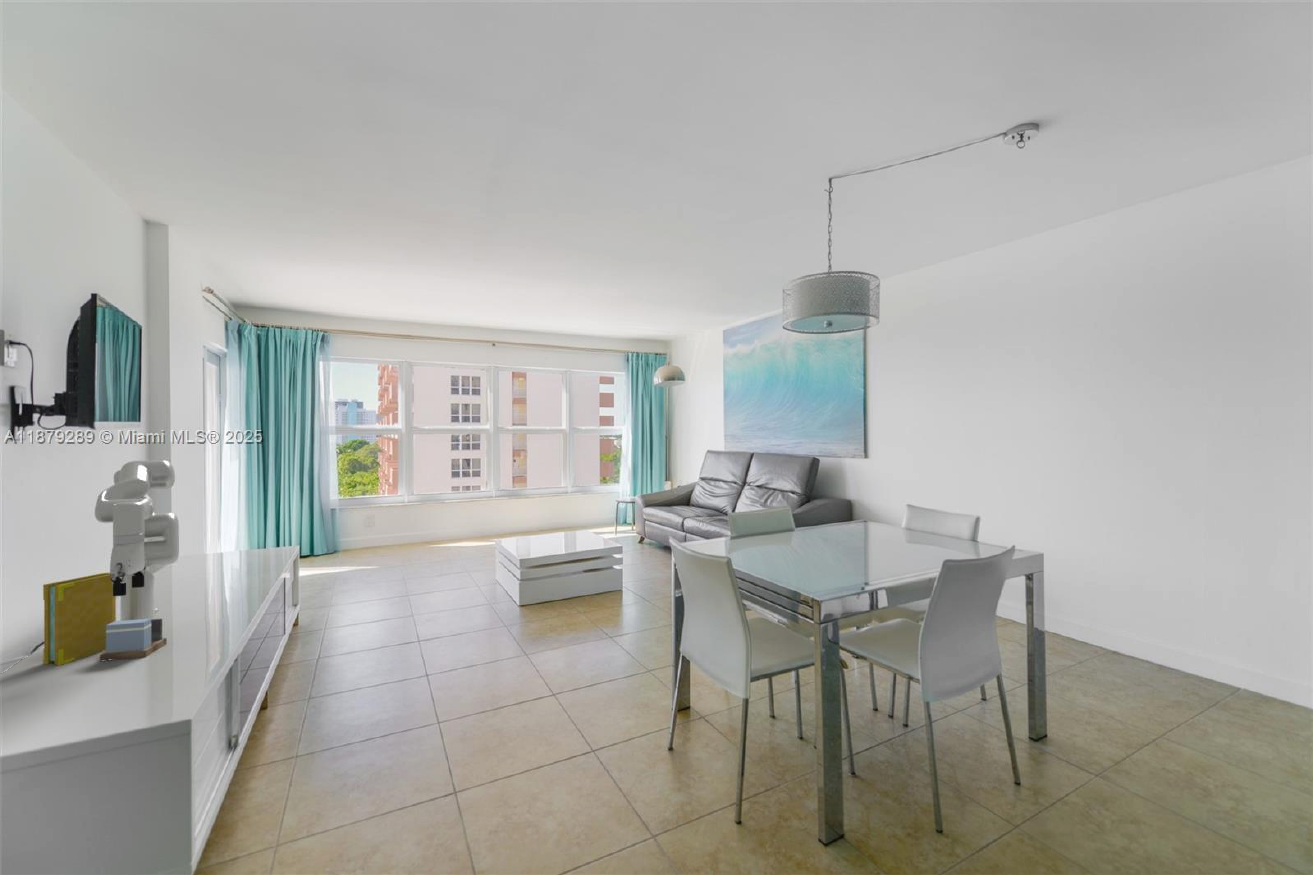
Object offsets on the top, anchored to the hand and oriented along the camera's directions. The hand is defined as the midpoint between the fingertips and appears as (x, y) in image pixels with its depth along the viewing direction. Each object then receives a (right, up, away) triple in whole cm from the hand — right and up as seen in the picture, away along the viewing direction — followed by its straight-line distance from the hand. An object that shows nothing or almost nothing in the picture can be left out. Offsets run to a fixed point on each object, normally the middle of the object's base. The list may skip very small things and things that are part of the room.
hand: (129, 591), depth 182 cm
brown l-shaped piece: (0, -21, +2) cm, 21 cm away
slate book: (0, -19, 0) cm, 19 cm away
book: (-16, -21, +1) cm, 26 cm away
